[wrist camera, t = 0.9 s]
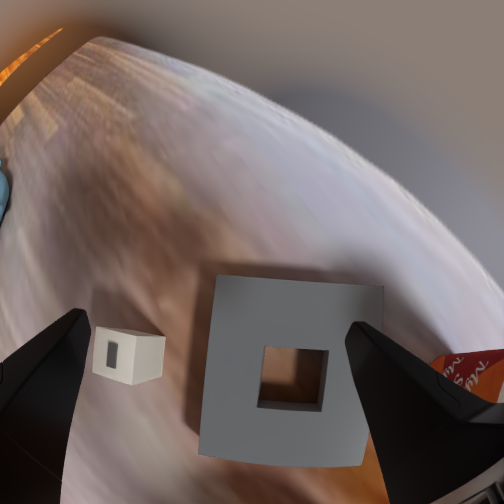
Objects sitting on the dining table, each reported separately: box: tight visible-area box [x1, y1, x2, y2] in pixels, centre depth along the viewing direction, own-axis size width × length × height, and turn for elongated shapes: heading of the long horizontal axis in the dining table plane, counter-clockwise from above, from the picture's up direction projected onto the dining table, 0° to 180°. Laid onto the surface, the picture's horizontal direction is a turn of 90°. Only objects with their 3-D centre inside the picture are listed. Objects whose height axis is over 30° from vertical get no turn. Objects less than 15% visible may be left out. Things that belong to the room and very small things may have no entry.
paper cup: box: [430, 349, 504, 403], centre depth 14 cm, size 8×8×14 cm
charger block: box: [92, 326, 166, 385], centre depth 22 cm, size 4×4×6 cm
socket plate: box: [198, 274, 384, 467], centre depth 22 cm, size 16×14×3 cm
